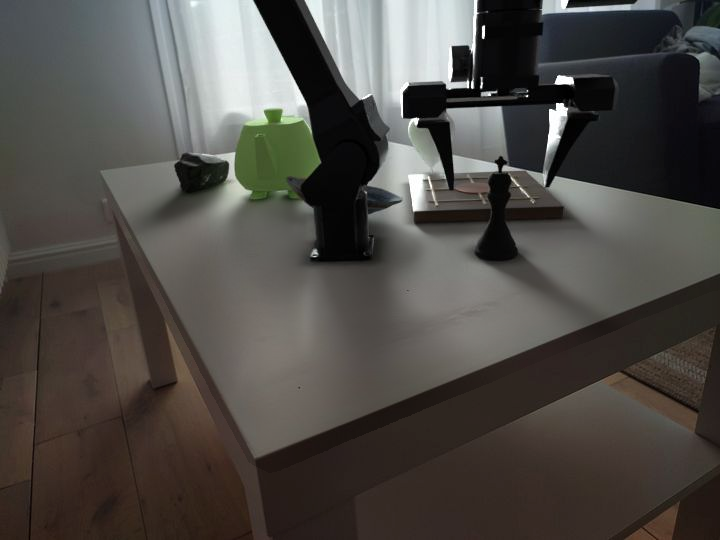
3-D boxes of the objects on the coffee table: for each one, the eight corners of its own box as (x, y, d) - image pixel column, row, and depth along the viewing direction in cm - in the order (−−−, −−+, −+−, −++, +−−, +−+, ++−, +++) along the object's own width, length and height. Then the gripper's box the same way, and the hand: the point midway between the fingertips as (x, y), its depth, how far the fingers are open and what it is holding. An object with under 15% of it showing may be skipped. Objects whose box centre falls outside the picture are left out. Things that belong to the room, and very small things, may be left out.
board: (562, 218, 64) (564, 205, 63) (413, 222, 65) (413, 210, 65) (524, 179, 82) (525, 169, 82) (408, 184, 84) (408, 174, 83)
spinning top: (463, 173, 88) (465, 98, 84) (425, 180, 85) (425, 103, 80) (436, 166, 95) (436, 96, 90) (400, 172, 91) (398, 100, 87)
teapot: (312, 208, 73) (304, 115, 68) (219, 210, 75) (204, 119, 70) (333, 176, 92) (327, 100, 87) (258, 178, 93) (248, 103, 88)
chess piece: (495, 242, 57) (500, 149, 54) (527, 254, 54) (535, 155, 50) (465, 251, 55) (467, 156, 52) (495, 264, 52) (501, 162, 48)
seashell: (276, 236, 63) (272, 195, 61) (292, 207, 75) (288, 171, 73) (404, 231, 63) (404, 189, 61) (400, 202, 74) (399, 166, 72)
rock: (162, 186, 90) (155, 152, 88) (207, 176, 96) (202, 144, 94) (192, 196, 84) (186, 160, 81) (239, 184, 89) (234, 150, 87)
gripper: (586, 11, 53) (569, 167, 59) (399, 22, 54) (401, 173, 60) (633, 3, 43) (607, 193, 49) (400, 16, 44) (403, 199, 50)
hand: (498, 188), depth 52 cm, fingers open, 9 cm apart
